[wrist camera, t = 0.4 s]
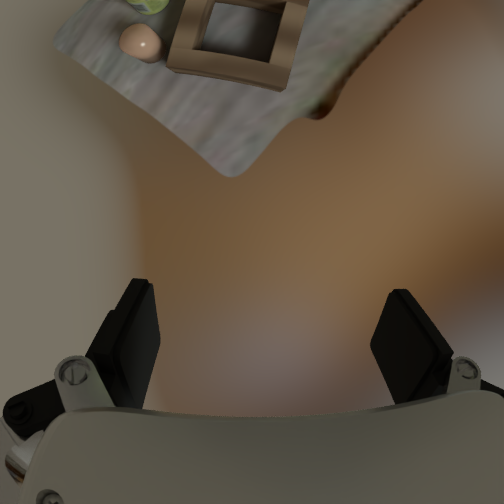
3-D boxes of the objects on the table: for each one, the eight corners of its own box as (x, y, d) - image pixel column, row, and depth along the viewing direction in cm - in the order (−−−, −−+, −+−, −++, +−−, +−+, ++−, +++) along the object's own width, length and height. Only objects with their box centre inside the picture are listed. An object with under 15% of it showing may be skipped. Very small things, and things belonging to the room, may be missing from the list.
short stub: (142, 36, 29) (124, 23, 22) (170, 38, 29) (155, 23, 23) (135, 62, 30) (115, 53, 24) (162, 64, 31) (146, 54, 25)
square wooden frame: (201, -14, 26) (196, -29, 21) (303, 5, 28) (311, -8, 23) (175, 72, 32) (165, 66, 27) (280, 92, 33) (285, 88, 29)
